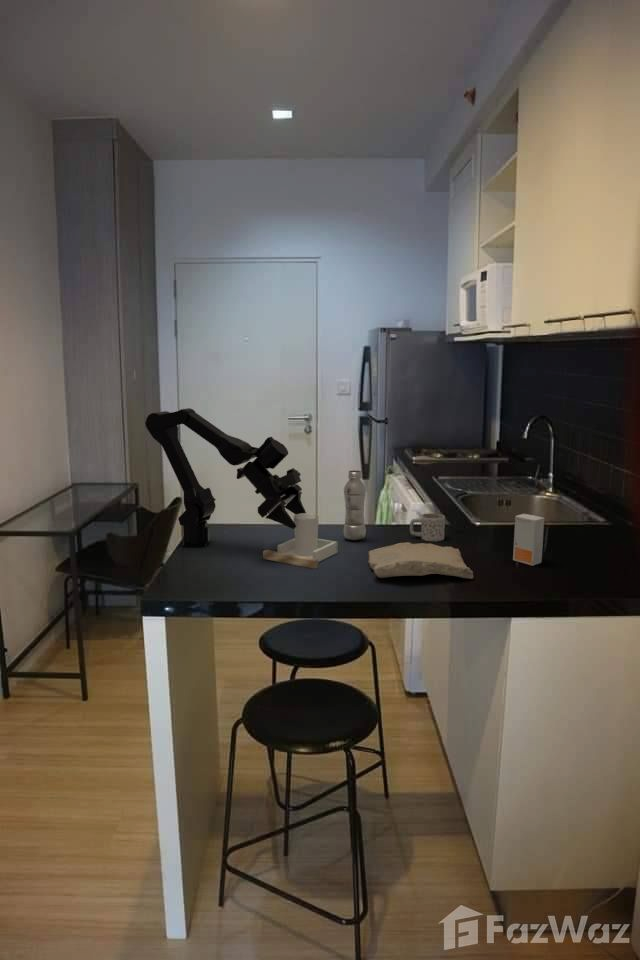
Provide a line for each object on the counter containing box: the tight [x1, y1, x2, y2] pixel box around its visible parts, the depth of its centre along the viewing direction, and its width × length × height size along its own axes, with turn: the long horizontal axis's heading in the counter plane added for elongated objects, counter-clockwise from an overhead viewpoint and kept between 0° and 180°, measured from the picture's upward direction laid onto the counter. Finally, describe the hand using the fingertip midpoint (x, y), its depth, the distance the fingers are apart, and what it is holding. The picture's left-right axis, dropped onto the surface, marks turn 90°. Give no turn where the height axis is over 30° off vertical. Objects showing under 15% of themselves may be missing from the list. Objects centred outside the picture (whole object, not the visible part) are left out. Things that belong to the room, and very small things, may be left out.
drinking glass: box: [293, 512, 320, 556], centre depth 177 cm, size 7×7×10 cm
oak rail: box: [262, 549, 319, 569], centre depth 171 cm, size 16×2×2 cm, turn 58°
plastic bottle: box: [343, 469, 367, 541], centre depth 191 cm, size 6×7×20 cm
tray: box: [277, 537, 339, 563], centre depth 178 cm, size 12×12×3 cm
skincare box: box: [512, 513, 545, 567], centre depth 170 cm, size 6×4×12 cm
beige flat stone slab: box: [367, 541, 474, 580], centre depth 164 cm, size 24×8×20 cm
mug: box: [409, 512, 446, 542], centre depth 193 cm, size 10×7×7 cm, turn 89°
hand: (301, 523), depth 177 cm, fingers open, 9 cm apart
